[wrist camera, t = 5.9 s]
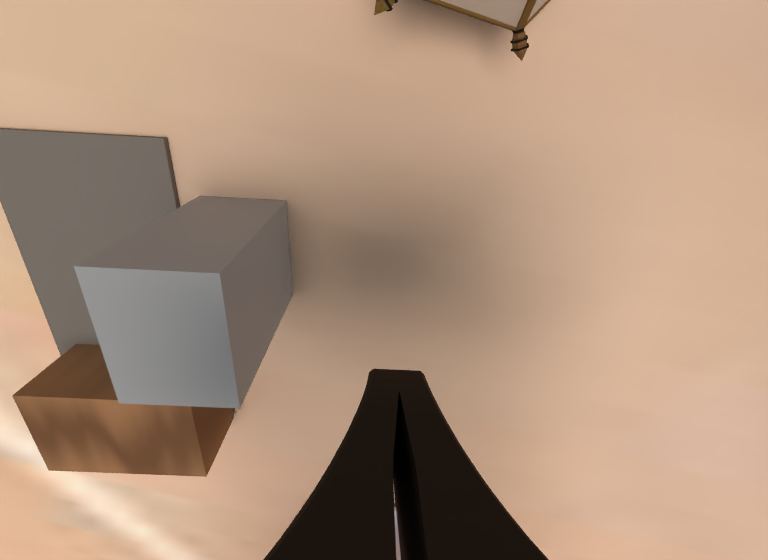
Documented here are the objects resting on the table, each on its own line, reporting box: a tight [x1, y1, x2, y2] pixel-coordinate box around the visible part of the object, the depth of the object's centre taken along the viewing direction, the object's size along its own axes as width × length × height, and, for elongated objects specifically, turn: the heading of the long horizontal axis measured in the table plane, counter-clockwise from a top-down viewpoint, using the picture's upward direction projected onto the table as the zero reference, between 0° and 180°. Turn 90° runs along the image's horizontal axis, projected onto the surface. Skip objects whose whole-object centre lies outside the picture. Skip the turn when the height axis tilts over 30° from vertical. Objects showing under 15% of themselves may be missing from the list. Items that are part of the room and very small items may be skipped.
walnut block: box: [13, 344, 234, 477], centre depth 20 cm, size 5×4×8 cm
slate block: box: [74, 196, 292, 408], centre depth 15 cm, size 5×4×8 cm
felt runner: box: [0, 128, 180, 356], centre depth 20 cm, size 18×8×1 cm, turn 177°
